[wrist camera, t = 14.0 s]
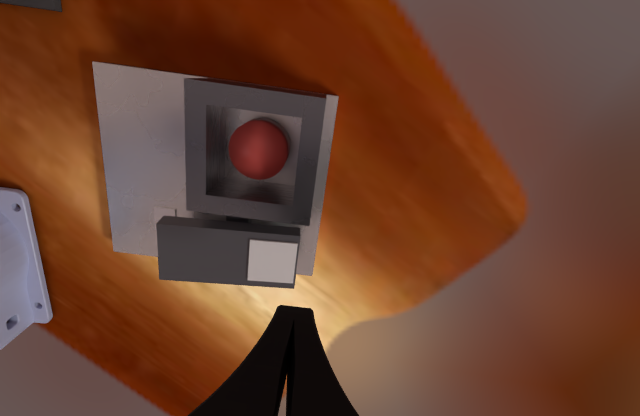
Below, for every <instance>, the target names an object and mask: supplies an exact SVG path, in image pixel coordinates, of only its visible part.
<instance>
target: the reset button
mask: <svg viewBox="0 0 640 416" xmlns="http://www.w3.org/2000/svg"><path fill="white" fill-rule="evenodd" d="M289 153H290V140H289V137H288V134H287V132H286V131H285V129H284V128H283V127H282V126H281V125H280V124H279V123H277V122H276V121H274V120H271V119H268V118H255V119H252V120H250V121H248V122H246V123H245V124H243V125H241V126H240V127H238V128H237V129H236V130H235V131H234V133H233V134H232V136H231V138H230V141H229V156H230V159H231V161H232V163H233V165H234V166H235V168H236V169H237V170H238V171H239V172H240V173H242V174H243V175H245V176H247V177H249V178H252V179H257V180H263V179H268V178H271V177H273V176H275V175H276V174H277V173H279V172H280V171H281V169H282V168H283V166H284V164H285V162H286V160H287V158H288V156H289Z"/></svg>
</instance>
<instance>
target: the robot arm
mask: <svg viewBox="0 0 640 416" xmlns="http://www.w3.org/2000/svg"><path fill="white" fill-rule="evenodd" d="M17 204H18V205H19V206H20V208H19V207H18V205H17ZM52 318H53V314H52V310H51V305H50V300H49V295H48V290H47V286H46V281H45V276H44V271H43V267H42V262H41V257H40V252H39V247H38V243H37V238H36V233H35V228H34V224H33V219H32V214H31V209H30V205H29V200H28V197H27V195H26V194H25V193H24V192H23V191H21V190H18V189H12V188H4V187H0V350H1V349H2V348H3V347H5V346H6V345H7V344H8V343H9V342H11V341H12V340H13V339H14V338H15V337H17V336H18V335H19V334H20V333H21V332H22V331H24V330H25V329H26V328H27V327H28V326H30V325H31V324H32V323H33V322H36V323H47V322H49V321H50V320H51V319H52ZM286 376H287V397H286V416H359V415H358V414H357V412H356V410H355V409H354V408H353V406H352V405H351V403H350V401H349V400H348V398H347V396H346V395H345V393H344V391H343V389H342V388H341V386H340V384H339V382H338V380H337V378H336V376H335V374H334V372H333V370H332V368H331V366H330V364H329V361H328V359H327V356H326V354H325V351H324V349H323V346H322V343H321V341H320V338H319V335H318V331H317V328H316V324H315V319H314V313H313V310H312V309H311V308H302V307H293V306H285V305H280V306H278V307H277V309H276V312H275V314H274V316H273V318H272V320H271V322H270V323H269V325H268V327H267V329H266V330H265V332H264V333H263V335H262V336H261V338H260V339H259V341H258V342H257V344H256V345H255V346H254V348H253V349H252V350H251V352H250V353H249V354H248V356H247V357H246V358H245V359H244V361H243V362H242V363H241V364H240V366H239V367H238V368H237V369H236V370H235V371H234V372H233V373H232V375H231V376H230V377H229V378H228V379H227V380H226V381H225V382H224V383H223V384H222V385H221V386H220V387H219V388H218V389H217V390H216V391H215V392H214V393H213V394H212V395H211V396H210V397H209V398H207V399H206V400H205V401H204V402H203V403H202V404H201V405H199V406H198V407H197V408H196V409H195V410H194V411H192V412H191V413H190V414H189V415H188V416H278V412H279V407H280V403H281V398H282V394H283V389H284V385H285V380H286Z"/></svg>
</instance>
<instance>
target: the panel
mask: <svg viewBox="0 0 640 416" xmlns="http://www.w3.org/2000/svg"><path fill="white" fill-rule="evenodd" d="M92 65H93V74H94V83H95V91H96V100H97V109H98V118H99V127H100V135H101V144H102V153H103V162H104V170H105V179H106V188H107V197H108V206H109V214H110V223H111V232H112V241H113V250H114V251H115V252H123V253H131V254H139V255H147V256H155V257H158V247H157V229H156V223H157V222H158V221H159V220H160V219H161V218H162V217H163V216H175V217H186V218H198V219H209V220H220V221H231V222H242V223H253V224H265V225H276V226H287V227H298V228H300V235H301V237H300V245H299V253H298V261H297V269H296V274H301V275H309V276H312V274H313V267H314V260H315V253H316V247H317V240H318V233H319V226H320V219H321V213H322V206H323V199H324V192H325V185H326V179H327V172H328V165H329V158H330V151H331V144H332V138H333V131H334V124H335V117H336V110H337V104H338V97H339V96H337V95H330V94H323V93H316V92H309V91H302V90H295V89H288V88H281V87H274V86H267V85H260V84H253V83H246V82H239V81H232V80H225V79H218V78H211V77H204V76H197V75H190V74H183V73H176V72H168V71H161V70H154V69H147V68H140V67H133V66H126V65H119V64H112V63H105V62H93V61H92ZM255 118H268V119H271V120H274V121H276V122H277V123H279V124H280V125H281V126H282V127H283V128H284V129H285V131H286V132H287V134H288V137H289V140H290V153H289V156H288V158H287V160H286V162H285V164H284V166H283V168H282V169H281V171H280V172H279V173H277V174H276V175H275V176H273V177H271V178H268V179H263V180H257V179H252V178H249V177H247V176H245V175H243V174H242V173H240V172H239V171H238V170H237V169H236V168H235V166H234V165H233V163H232V161H231V159H230V156H229V141H230V138H231V136H232V134H233V133H234V131H235V130H236V129H237V128H238V127H240V126H241V125H243V124H245V123H246V122H248V121H250V120H252V119H255Z"/></svg>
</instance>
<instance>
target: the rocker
mask: <svg viewBox="0 0 640 416" xmlns="http://www.w3.org/2000/svg"><path fill="white" fill-rule="evenodd" d="M156 229H157V247H158V265H159V279H160V280H175V281H189V282H204V283H219V284H234V285H248V286H263V287H278V288H293V289H294V285H295V277H296V269H297V261H298V253H299V245H300V237H301V235H300V228H298V227H287V226H276V225H265V224H253V223H242V222H231V221H220V220H209V219H198V218H186V217H175V216H163V217H162V218H161V219H160V220H159V221H158V222H157V223H156Z"/></svg>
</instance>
